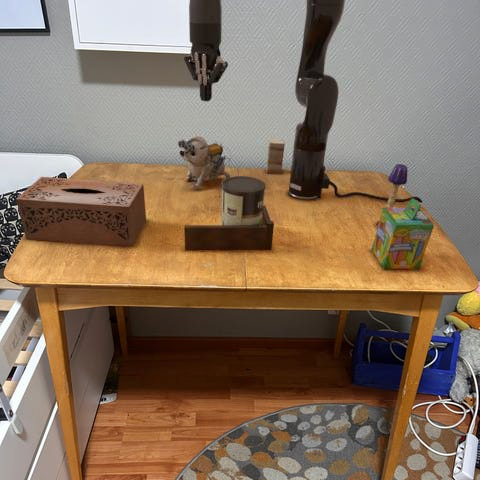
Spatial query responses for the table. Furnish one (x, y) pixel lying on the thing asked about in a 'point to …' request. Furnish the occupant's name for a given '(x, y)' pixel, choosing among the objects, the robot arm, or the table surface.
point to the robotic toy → (202, 160)
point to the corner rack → (230, 236)
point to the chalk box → (402, 237)
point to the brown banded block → (275, 156)
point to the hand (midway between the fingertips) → (205, 100)
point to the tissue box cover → (83, 211)
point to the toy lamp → (396, 183)
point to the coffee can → (242, 201)
